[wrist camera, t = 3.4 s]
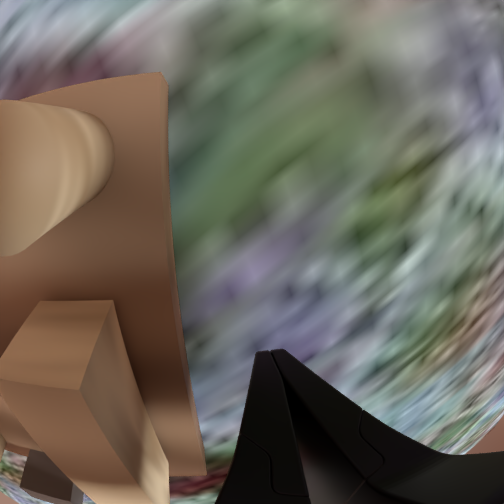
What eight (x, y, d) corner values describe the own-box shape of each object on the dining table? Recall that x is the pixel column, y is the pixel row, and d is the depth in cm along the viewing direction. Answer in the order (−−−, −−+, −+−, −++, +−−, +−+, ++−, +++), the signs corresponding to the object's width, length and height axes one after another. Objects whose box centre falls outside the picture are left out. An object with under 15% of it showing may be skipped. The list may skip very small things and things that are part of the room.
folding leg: (169, 463, 11) (172, 537, 7) (119, 461, 11) (115, 532, 7) (113, 300, 8) (70, 420, 4) (39, 300, 7) (-24, 399, 3)
